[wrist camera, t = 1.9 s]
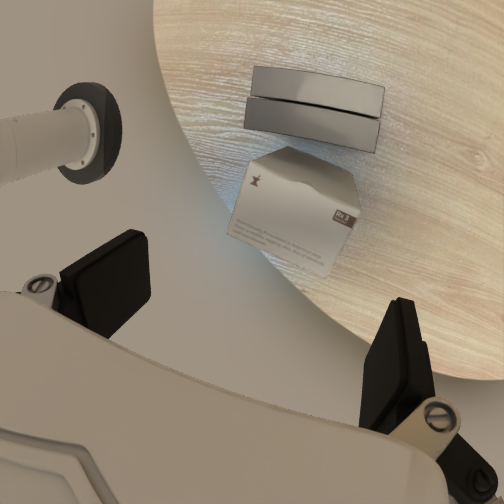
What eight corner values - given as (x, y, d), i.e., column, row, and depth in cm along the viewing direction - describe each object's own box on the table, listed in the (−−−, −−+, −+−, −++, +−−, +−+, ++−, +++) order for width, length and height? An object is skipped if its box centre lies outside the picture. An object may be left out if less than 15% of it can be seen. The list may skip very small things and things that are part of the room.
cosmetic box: (270, 189, 35) (217, 235, 22) (288, 142, 32) (243, 157, 19) (336, 220, 34) (323, 286, 21) (358, 173, 31) (363, 211, 18)
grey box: (276, 125, 32) (243, 128, 22) (283, 81, 29) (251, 64, 20) (367, 143, 29) (374, 154, 20) (374, 97, 27) (386, 85, 18)
